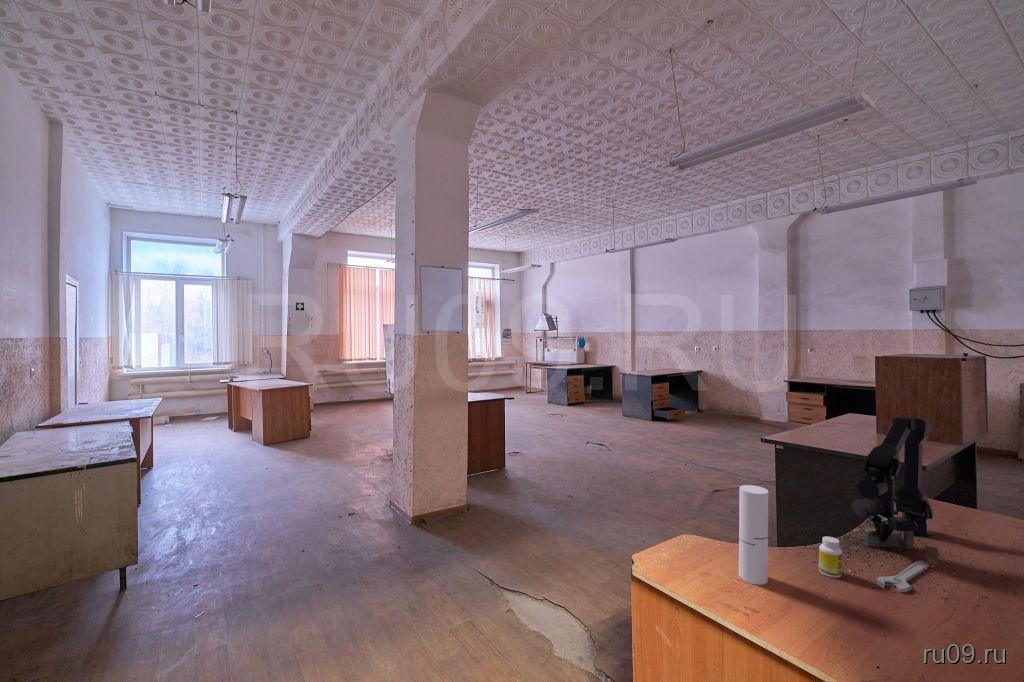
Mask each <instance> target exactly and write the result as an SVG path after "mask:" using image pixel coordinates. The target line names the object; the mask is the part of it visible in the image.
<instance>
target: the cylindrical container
mask: <svg viewBox="0 0 1024 682" xmlns="http://www.w3.org/2000/svg"><path fill="white" fill-rule="evenodd" d="M738 502H739V503H738V504H739V505H738V506H739V510H738V511H739V512H738V513H739V514H738V515H739V516H738V517H739V520H738V521H739V523H738V526H739V527H738V528H739V530H738V533H739V534H738V535H739V537H738V543H739V544H738V550H739V551H738V576H740V577H741V578H742V579H743V580H742V579H741V578H740V577H739V578H740V579H741V580H742V581H744V580H745V581H744V582H746V581H747V582H746V583H748V582H749V584H752V585H758V586H762V585H766V584H767V583H768V579H769V576H768V573H769V571H768V570H769V566H768V565H769V563H768V562H769V561H768V560H769V556H768V555H769V490H768V489H767V488H765V487H763V486H760V485H759V486H758V485H753V484H752V485H751V484H745V485H741V486H739V500H738Z"/></svg>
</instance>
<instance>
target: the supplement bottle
mask: <svg viewBox="0 0 1024 682" xmlns="http://www.w3.org/2000/svg"><path fill="white" fill-rule="evenodd" d="M840 545H841V544H840V540H839V539H838V538H836V537H832V536H823V537H822V543H821V544H820V545H819V547H818V550H819V551H818V553H819V555H818V571H819V573H820V574H823V575H824V576H827V577H830V578H833V579H834V578H835V579H836V578H837V579H838V578H841V577H842V574H843V550H842V549H841V547H840Z"/></svg>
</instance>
